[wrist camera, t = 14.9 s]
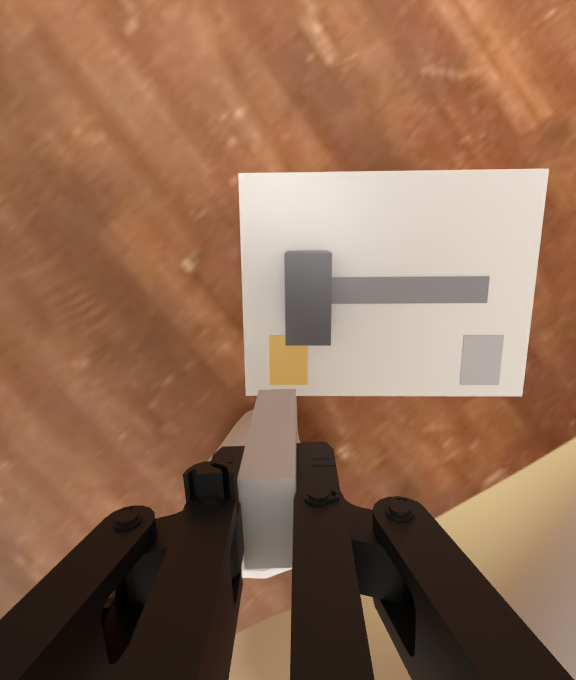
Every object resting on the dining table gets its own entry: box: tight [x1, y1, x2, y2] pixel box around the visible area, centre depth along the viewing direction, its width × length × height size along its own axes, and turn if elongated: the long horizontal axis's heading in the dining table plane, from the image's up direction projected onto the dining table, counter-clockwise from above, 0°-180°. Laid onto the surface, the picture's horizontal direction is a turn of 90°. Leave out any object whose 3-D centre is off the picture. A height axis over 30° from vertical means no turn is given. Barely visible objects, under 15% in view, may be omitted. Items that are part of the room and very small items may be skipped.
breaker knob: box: [284, 250, 332, 346], centre depth 31 cm, size 6×3×5 cm, turn 1°
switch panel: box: [238, 169, 549, 396], centre depth 36 cm, size 17×22×6 cm
